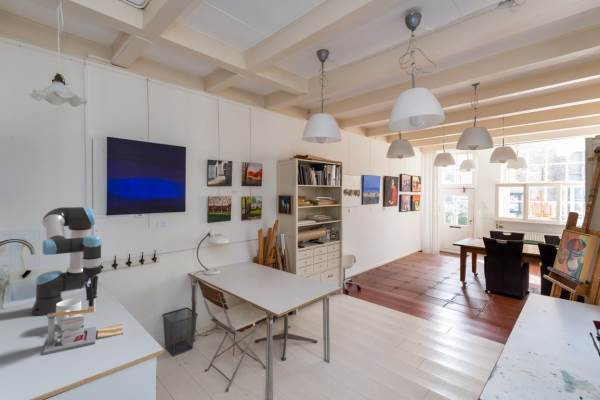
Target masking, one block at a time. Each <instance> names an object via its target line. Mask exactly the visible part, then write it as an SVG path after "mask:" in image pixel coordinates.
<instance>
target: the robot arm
mask: <svg viewBox="0 0 600 400" xmlns="http://www.w3.org/2000/svg"><path fill="white" fill-rule="evenodd" d="M95 221H96V219H95V213H94V209H93V208H92V207H85V206H76V207H75V206H71V207H69V206H68V207H65V206H64V207H56V208H54V209H50V211H48V212H47V213H46V214H45V215H44V216H43V219H42V225H43V227H44V228H45V234H46V239H45V240H43V241H42V254H43V255H44V256H48V255H51V256H53V255H61V254H69V266H68V267H67V269H66V272H63V271H62V270H51V271H46V272H44V273H41V274H39V275H38V276H37V277H36V282H35V285H36V286H35V287H36V290H35V292H36V293H35V301H34V303H33V306H32V307H31V315H33V316H47V314H49V313H53V312H55V313H56V304H57V303H59V302H61V301H64V300H63V297H62V292H67V291H74V290H81V289H85V295H86V299H85V301H86V302H87V310H88V309H94V312H93V313H95V312H96V299H98V295H97V294H98V293H97V292H98V283H99V282H98V281H99V280H98V279H99V276H98V275H99V274H101V273H102V236H101V235H98V234H96V235H95V234H93V235H89V232H90V230H91V229H92V226H93V227H94V226H95V225H96V222H95ZM65 227H68V230H69V231H70V232H71V233H70V237H68V238H67V236H66V233H65Z"/></svg>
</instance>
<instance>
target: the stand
mask: <svg viewBox="0 0 600 400" xmlns="http://www.w3.org/2000/svg"><path fill="white" fill-rule="evenodd" d="M55 321H56V317H53V318H47V342H46V344H45V348H44V350H43V352H42V353H43V354H42V355H43V356H44V355H49V354H54V353H58V352H62V351H63V352H64V351H68V350H72V349H78V348H83V347H87V346H91V345H95V343H96V330H97V329H96V328H97V327H96V326H93V327H92V326H91V327H87V328H84V334H86V340H83V341H82V340H81V341H76V342H72V343H69V344H66V345H58V346H57V342H58V339H60V332H59V333H55Z"/></svg>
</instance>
